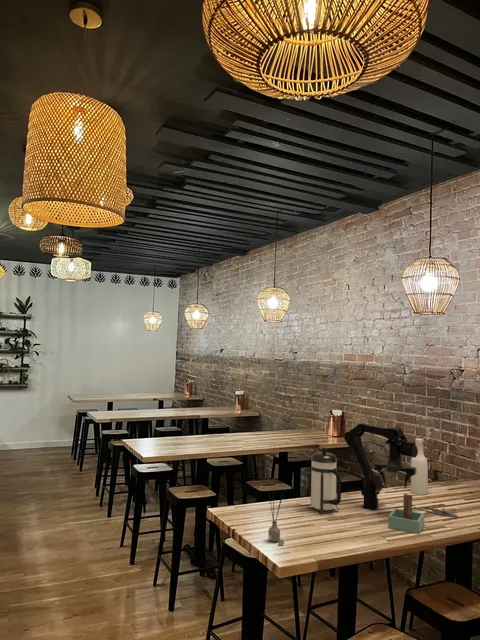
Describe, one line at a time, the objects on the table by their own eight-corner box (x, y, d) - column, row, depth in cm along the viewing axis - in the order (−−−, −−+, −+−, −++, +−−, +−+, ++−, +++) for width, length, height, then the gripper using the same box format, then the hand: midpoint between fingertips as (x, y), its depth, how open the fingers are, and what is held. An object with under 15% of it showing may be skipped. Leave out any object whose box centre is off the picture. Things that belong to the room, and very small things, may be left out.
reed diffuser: (262, 538, 196) (263, 488, 198) (274, 535, 201) (275, 486, 202) (279, 547, 188) (280, 494, 190) (291, 543, 193) (292, 492, 194)
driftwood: (460, 517, 230) (460, 513, 231) (453, 520, 226) (453, 516, 226) (420, 507, 246) (419, 503, 246) (412, 509, 242) (412, 505, 242)
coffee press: (304, 513, 230) (305, 449, 232) (312, 503, 245) (312, 444, 247) (340, 518, 224) (341, 452, 226) (346, 508, 238) (346, 447, 241)
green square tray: (388, 527, 213) (388, 516, 213) (394, 519, 224) (394, 508, 224) (419, 533, 206) (419, 521, 207) (424, 525, 217) (424, 513, 218)
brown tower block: (399, 523, 216) (399, 493, 217) (408, 522, 217) (408, 493, 218) (406, 527, 211) (406, 496, 212) (416, 526, 213) (416, 496, 214)
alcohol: (425, 496, 263) (425, 440, 265) (409, 493, 268) (409, 439, 270) (429, 492, 271) (429, 438, 273) (413, 490, 275) (413, 437, 278)
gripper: (371, 454, 231) (371, 487, 230) (412, 459, 222) (412, 494, 220) (377, 450, 241) (377, 482, 239) (416, 455, 231) (416, 488, 230)
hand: (395, 486), depth 232 cm, fingers open, 9 cm apart
